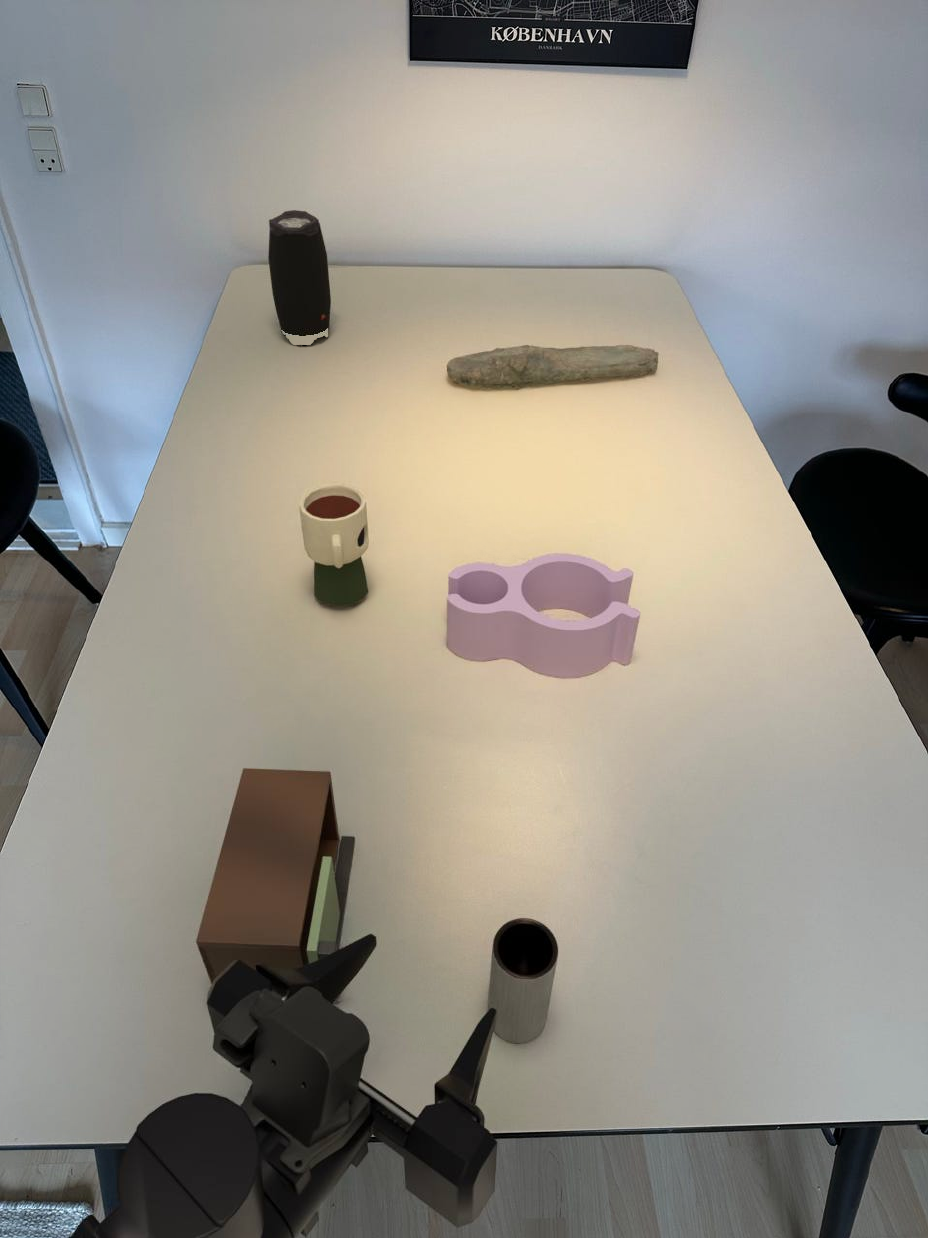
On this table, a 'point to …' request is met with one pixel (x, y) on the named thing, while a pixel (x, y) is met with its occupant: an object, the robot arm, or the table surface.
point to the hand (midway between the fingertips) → (432, 974)
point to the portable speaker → (299, 273)
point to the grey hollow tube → (522, 978)
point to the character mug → (336, 542)
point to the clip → (514, 629)
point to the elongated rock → (550, 365)
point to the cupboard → (273, 870)
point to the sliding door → (324, 915)
